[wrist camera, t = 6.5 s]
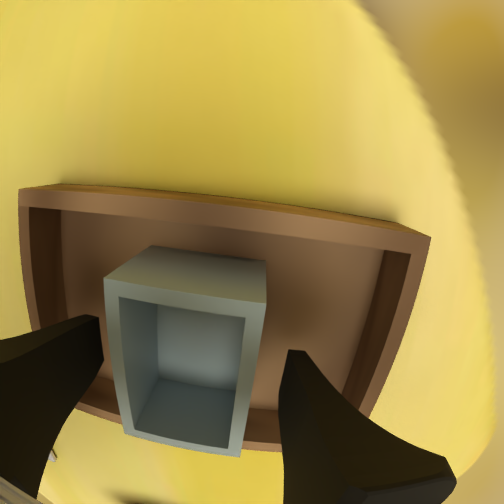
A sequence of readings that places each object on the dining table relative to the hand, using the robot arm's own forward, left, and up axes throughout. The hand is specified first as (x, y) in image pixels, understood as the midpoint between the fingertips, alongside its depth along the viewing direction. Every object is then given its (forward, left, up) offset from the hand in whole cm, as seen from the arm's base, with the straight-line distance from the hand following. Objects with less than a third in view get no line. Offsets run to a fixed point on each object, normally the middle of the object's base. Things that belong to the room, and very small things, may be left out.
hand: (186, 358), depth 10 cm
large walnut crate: (0, 0, -3) cm, 3 cm away
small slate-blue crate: (0, 0, -3) cm, 3 cm away
